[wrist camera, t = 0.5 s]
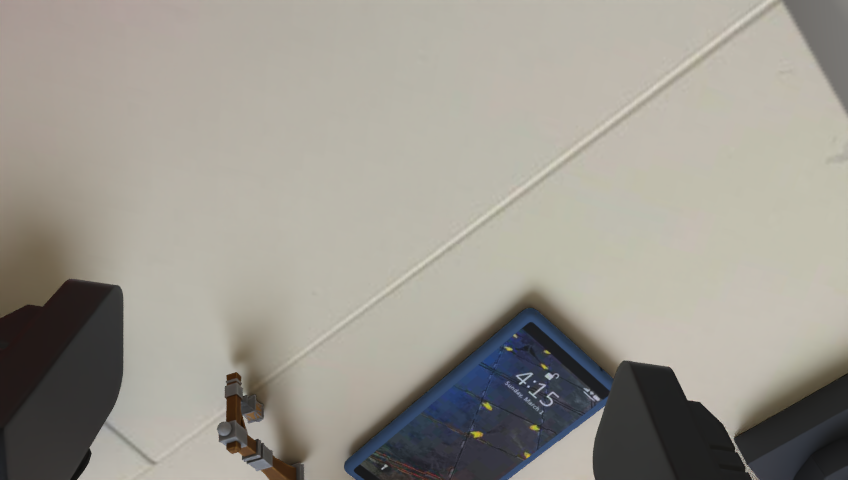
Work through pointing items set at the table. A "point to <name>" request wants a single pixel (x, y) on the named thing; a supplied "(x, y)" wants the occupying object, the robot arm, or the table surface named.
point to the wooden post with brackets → (237, 439)
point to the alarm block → (802, 439)
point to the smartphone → (491, 409)
